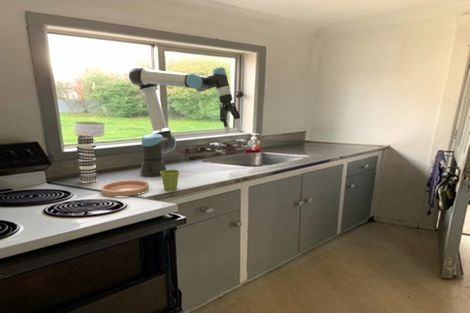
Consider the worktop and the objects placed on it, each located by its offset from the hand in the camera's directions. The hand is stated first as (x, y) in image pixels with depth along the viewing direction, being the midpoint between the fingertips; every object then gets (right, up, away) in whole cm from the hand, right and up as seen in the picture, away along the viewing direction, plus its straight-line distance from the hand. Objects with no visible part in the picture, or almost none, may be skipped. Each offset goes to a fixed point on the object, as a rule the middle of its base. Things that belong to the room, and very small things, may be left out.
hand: (233, 131), depth 176 cm
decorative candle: (-78, -28, -14) cm, 84 cm away
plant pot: (-31, -31, -29) cm, 52 cm away
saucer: (-51, -31, -32) cm, 68 cm away
